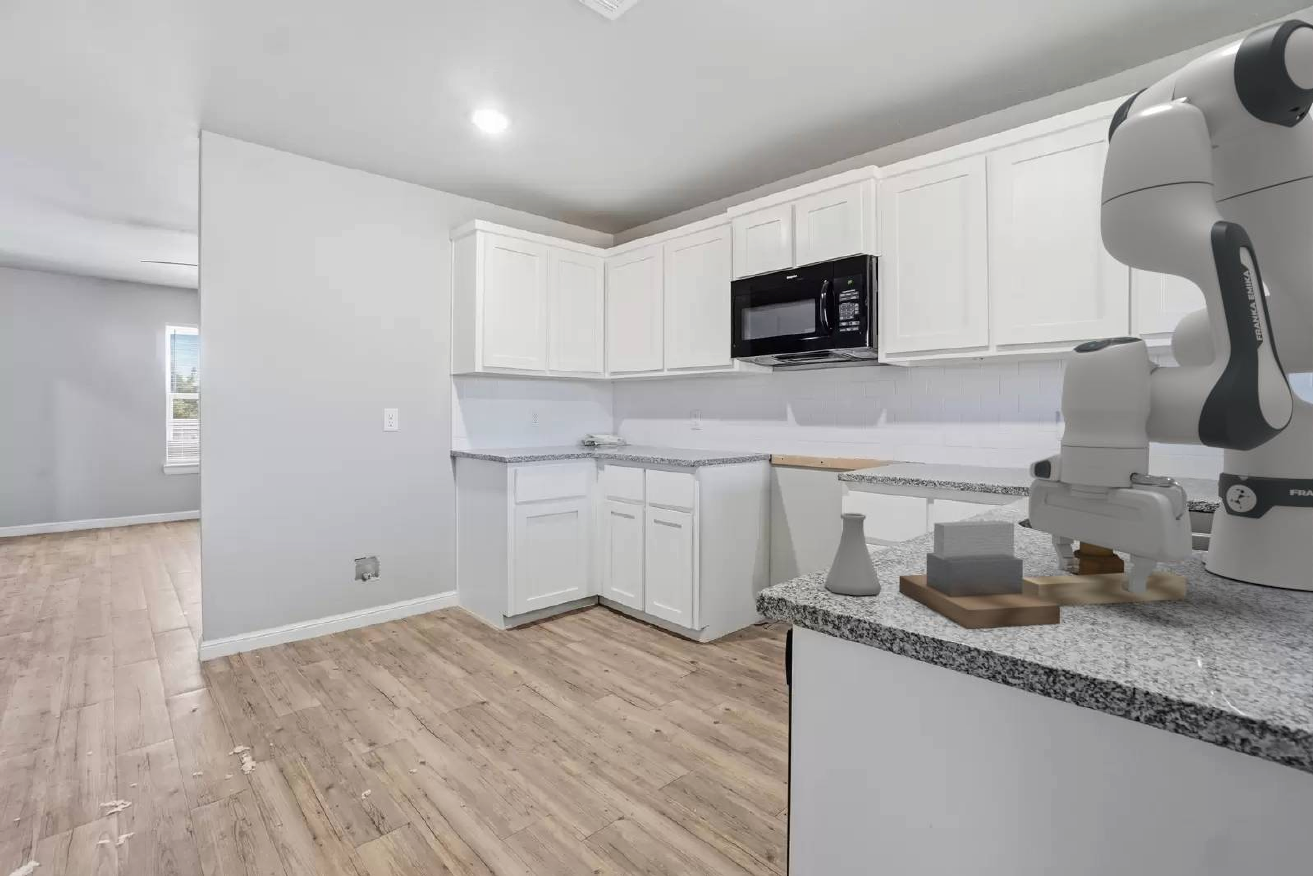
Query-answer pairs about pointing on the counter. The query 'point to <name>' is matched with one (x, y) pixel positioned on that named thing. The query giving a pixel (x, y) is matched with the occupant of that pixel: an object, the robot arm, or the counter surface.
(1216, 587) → the counter surface
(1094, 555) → the brown tall knobbed post
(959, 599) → the walnut base
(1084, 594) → the maple bar
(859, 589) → the flask
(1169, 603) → the counter surface
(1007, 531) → the grey stepped block
